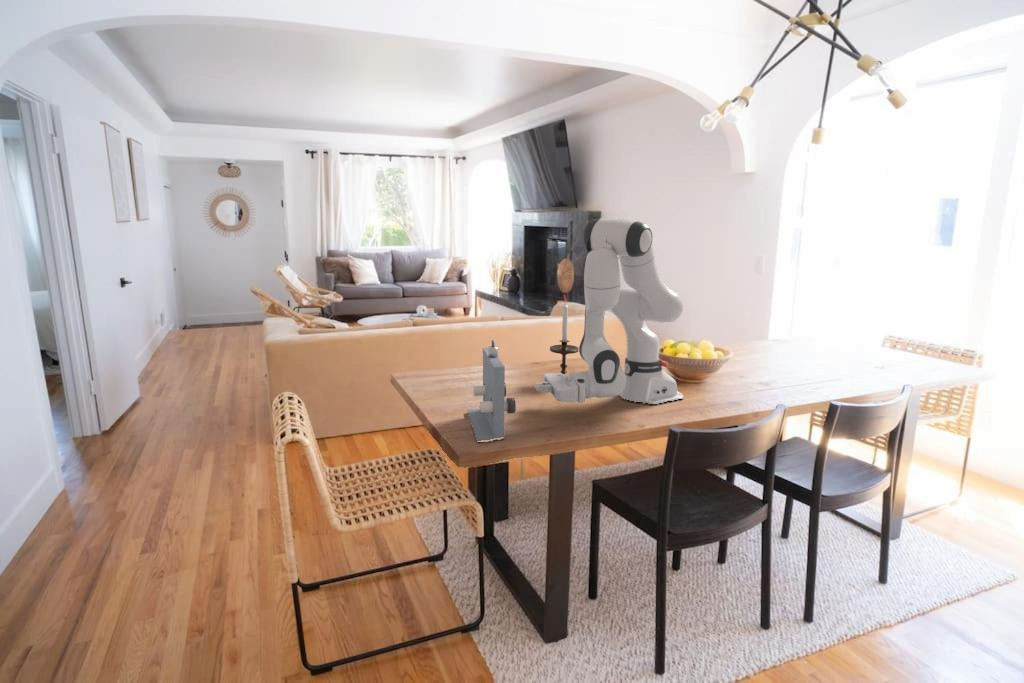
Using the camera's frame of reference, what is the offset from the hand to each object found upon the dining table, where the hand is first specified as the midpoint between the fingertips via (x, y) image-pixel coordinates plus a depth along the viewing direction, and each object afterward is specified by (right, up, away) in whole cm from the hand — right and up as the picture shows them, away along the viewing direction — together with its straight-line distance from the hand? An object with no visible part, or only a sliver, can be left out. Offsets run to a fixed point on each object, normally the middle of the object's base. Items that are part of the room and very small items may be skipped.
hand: (535, 387), depth 189 cm
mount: (-16, -11, -9) cm, 21 cm away
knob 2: (-12, -6, -18) cm, 22 cm away
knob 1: (-15, -3, -2) cm, 15 cm away
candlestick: (+12, -2, +36) cm, 38 cm away
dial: (-13, +10, -13) cm, 22 cm away
